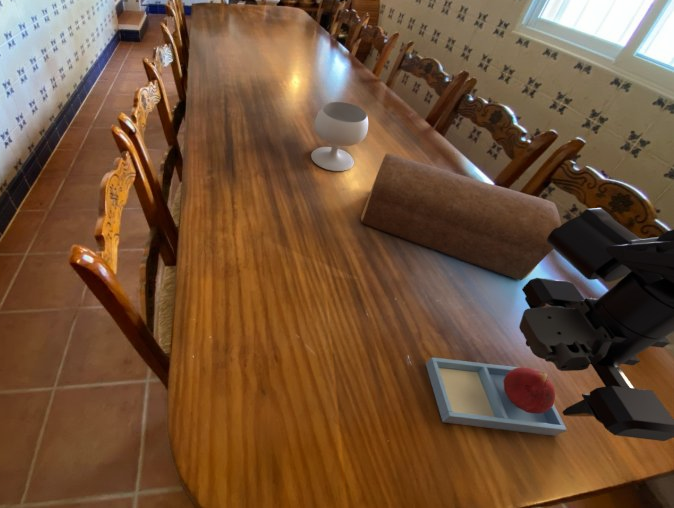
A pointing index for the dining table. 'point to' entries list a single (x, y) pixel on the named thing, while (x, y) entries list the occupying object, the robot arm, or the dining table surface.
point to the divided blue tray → (484, 398)
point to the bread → (461, 216)
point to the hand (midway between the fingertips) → (546, 377)
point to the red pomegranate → (529, 390)
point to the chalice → (339, 134)
